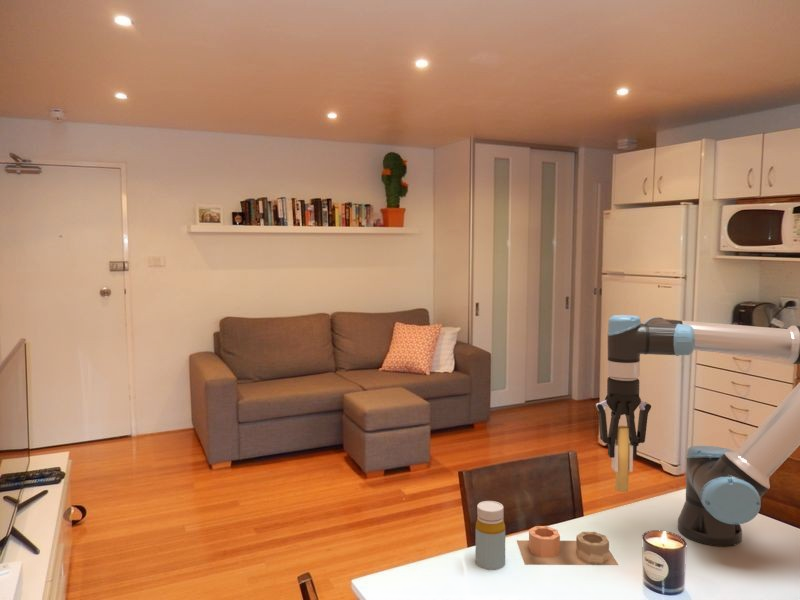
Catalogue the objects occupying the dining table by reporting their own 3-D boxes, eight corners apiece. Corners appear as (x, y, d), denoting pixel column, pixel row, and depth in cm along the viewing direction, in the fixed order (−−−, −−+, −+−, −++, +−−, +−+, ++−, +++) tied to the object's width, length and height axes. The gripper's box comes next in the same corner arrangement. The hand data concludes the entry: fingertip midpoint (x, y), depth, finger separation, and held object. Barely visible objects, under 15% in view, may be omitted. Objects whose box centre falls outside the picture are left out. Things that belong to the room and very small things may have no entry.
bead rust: (555, 543, 152) (555, 526, 152) (561, 557, 145) (561, 539, 145) (527, 543, 153) (527, 526, 152) (532, 557, 146) (532, 539, 145)
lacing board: (603, 545, 153) (603, 540, 153) (618, 569, 142) (618, 564, 141) (516, 544, 154) (516, 540, 154) (524, 569, 142) (524, 564, 142)
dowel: (625, 487, 153) (626, 425, 151) (629, 492, 150) (630, 429, 148) (613, 487, 153) (614, 425, 152) (617, 492, 150) (618, 429, 149)
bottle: (507, 562, 146) (507, 502, 145) (502, 576, 139) (502, 514, 138) (478, 557, 148) (478, 498, 147) (472, 571, 141) (472, 510, 140)
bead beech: (602, 549, 149) (602, 531, 149) (611, 563, 142) (611, 545, 142) (574, 549, 149) (574, 531, 149) (581, 563, 142) (581, 545, 142)
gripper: (650, 374, 153) (648, 464, 154) (586, 374, 153) (585, 464, 155) (661, 380, 145) (660, 475, 147) (595, 380, 146) (594, 475, 147)
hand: (622, 469), depth 151 cm, fingers closed on dowel, 3 cm apart
